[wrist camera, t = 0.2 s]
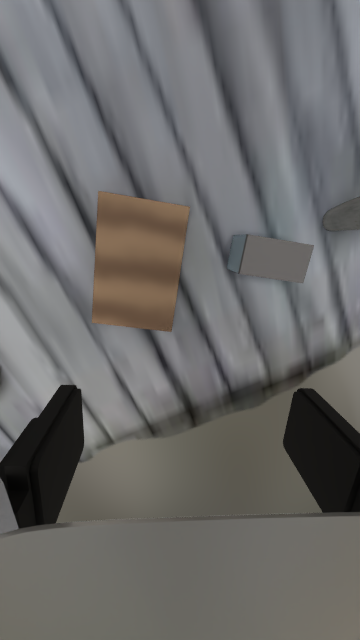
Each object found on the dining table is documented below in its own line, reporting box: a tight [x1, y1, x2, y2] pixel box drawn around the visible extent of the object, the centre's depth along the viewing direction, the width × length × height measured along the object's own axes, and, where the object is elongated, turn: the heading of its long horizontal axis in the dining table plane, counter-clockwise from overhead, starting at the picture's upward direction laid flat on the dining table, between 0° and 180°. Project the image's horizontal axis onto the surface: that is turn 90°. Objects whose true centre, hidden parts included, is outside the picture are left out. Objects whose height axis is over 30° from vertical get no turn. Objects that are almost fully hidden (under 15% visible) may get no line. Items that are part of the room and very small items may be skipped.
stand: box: [92, 191, 190, 332], centre depth 37 cm, size 18×12×3 cm, turn 172°
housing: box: [227, 235, 314, 283], centre depth 36 cm, size 5×9×7 cm, turn 82°
